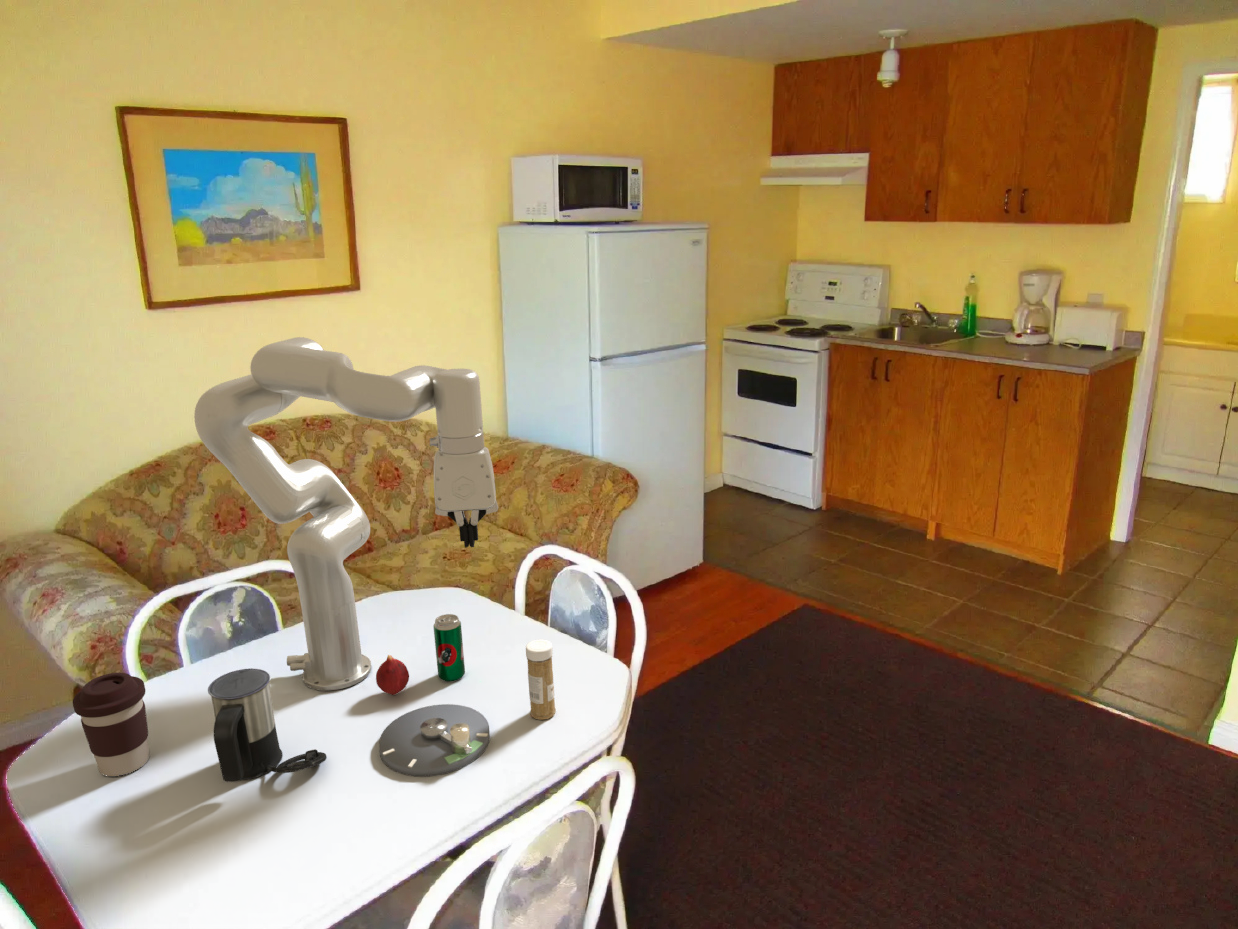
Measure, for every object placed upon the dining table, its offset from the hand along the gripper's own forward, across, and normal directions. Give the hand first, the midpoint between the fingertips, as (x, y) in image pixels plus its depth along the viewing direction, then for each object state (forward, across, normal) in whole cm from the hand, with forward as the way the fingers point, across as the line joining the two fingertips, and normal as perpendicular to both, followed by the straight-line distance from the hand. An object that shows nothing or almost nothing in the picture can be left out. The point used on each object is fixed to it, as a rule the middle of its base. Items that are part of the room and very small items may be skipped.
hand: (469, 544), depth 150 cm
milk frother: (+29, -32, -18) cm, 47 cm away
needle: (+27, -5, -17) cm, 33 cm away
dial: (+29, -7, -15) cm, 33 cm away
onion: (+29, -16, +1) cm, 33 cm away
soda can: (+29, -6, +6) cm, 31 cm away
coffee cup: (+29, -57, -14) cm, 66 cm away
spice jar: (+29, +11, -9) cm, 33 cm away
